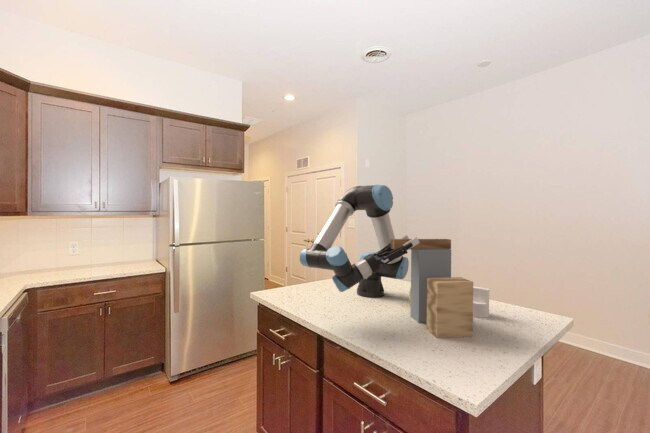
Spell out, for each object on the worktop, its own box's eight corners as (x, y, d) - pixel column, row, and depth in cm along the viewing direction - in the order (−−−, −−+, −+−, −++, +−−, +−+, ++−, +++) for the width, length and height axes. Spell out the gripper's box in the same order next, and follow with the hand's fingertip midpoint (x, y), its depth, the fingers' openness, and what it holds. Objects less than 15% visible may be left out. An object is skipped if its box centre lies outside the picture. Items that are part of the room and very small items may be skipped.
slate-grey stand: (410, 316, 132) (411, 247, 132) (440, 315, 134) (441, 247, 134) (418, 322, 124) (419, 250, 124) (450, 321, 126) (451, 249, 126)
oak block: (426, 329, 117) (427, 277, 117) (460, 327, 119) (460, 277, 119) (436, 337, 110) (437, 282, 109) (472, 336, 111) (473, 281, 111)
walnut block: (390, 248, 129) (390, 239, 129) (445, 248, 132) (446, 238, 132) (394, 249, 125) (394, 239, 125) (450, 249, 128) (451, 239, 128)
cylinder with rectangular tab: (463, 314, 135) (463, 287, 135) (470, 309, 142) (470, 284, 142) (485, 319, 129) (486, 291, 129) (491, 314, 136) (491, 287, 136)
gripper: (365, 269, 136) (406, 243, 139) (380, 279, 115) (429, 249, 117) (357, 254, 136) (399, 229, 138) (370, 262, 114) (420, 232, 117)
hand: (412, 238), depth 128 cm, fingers open, 9 cm apart
